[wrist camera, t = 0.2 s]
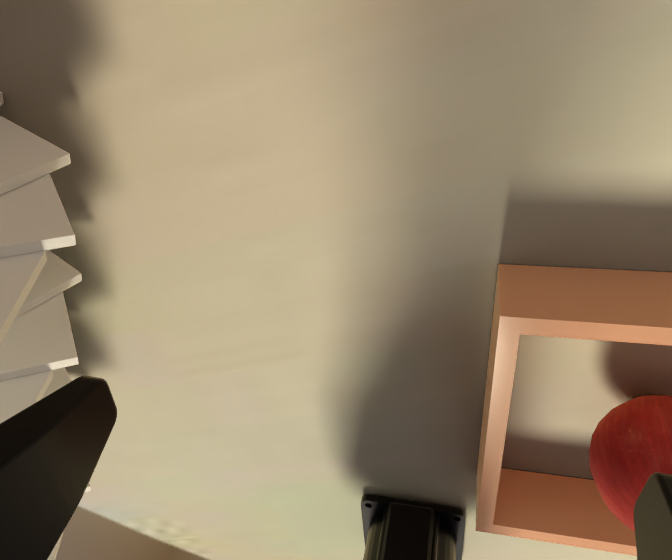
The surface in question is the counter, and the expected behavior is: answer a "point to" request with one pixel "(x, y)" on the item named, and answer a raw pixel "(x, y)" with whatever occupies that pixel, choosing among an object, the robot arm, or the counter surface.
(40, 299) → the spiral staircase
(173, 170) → the counter surface
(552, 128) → the counter surface
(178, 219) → the counter surface
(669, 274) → the terracotta frame
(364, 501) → the robot arm
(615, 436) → the onion
